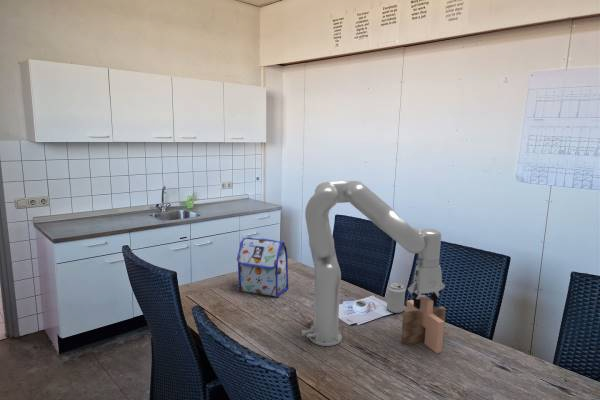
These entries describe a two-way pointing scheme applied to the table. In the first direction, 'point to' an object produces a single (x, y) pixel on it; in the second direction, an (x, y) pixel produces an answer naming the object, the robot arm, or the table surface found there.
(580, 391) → the table surface
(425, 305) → the pink notched panel
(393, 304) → the can
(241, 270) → the lunch bag
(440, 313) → the board
